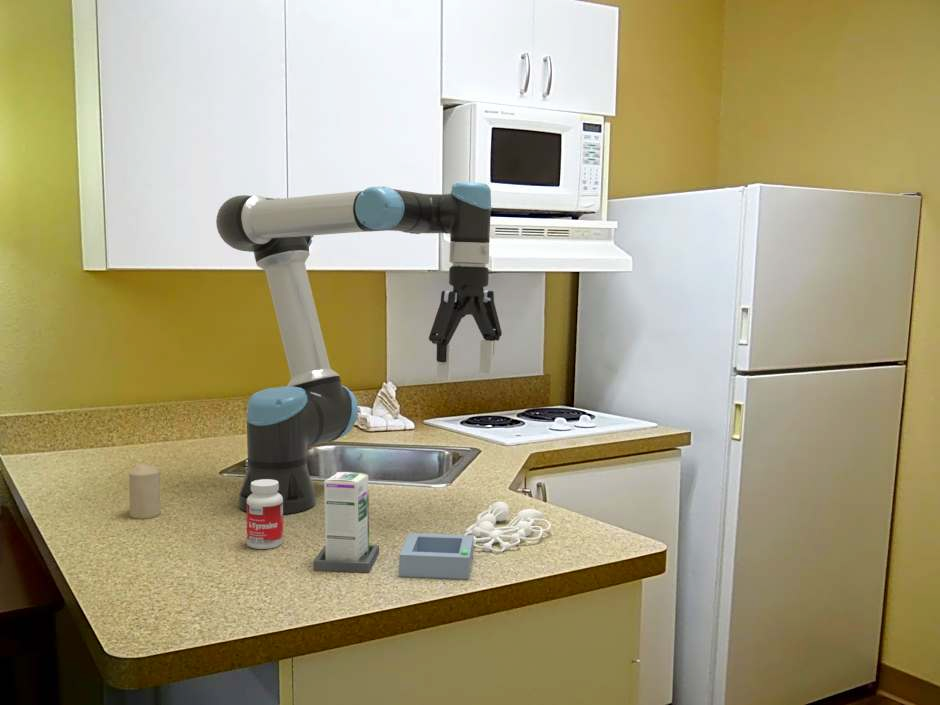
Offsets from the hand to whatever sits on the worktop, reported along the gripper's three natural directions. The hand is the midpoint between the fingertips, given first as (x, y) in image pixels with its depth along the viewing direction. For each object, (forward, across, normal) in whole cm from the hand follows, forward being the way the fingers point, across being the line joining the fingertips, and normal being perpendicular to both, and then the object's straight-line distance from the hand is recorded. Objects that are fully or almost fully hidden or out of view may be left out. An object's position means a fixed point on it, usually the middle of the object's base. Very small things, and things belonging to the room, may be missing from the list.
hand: (465, 376), depth 162 cm
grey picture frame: (+28, -32, -1) cm, 43 cm away
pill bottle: (+28, -35, +16) cm, 48 cm away
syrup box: (+28, -32, -1) cm, 43 cm away
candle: (+29, -38, +48) cm, 68 cm away
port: (+28, -24, -14) cm, 39 cm away
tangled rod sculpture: (+28, -4, -14) cm, 32 cm away
